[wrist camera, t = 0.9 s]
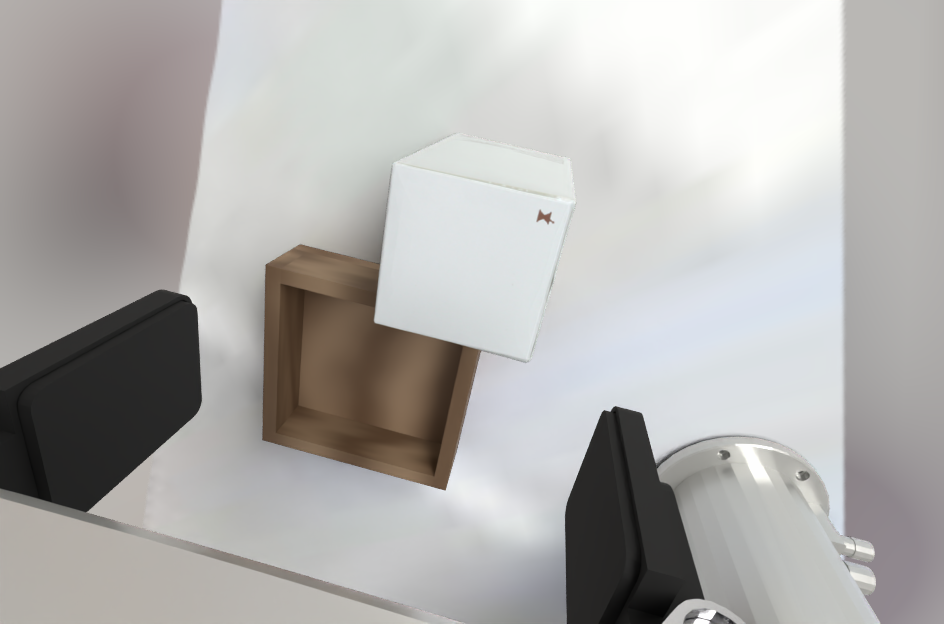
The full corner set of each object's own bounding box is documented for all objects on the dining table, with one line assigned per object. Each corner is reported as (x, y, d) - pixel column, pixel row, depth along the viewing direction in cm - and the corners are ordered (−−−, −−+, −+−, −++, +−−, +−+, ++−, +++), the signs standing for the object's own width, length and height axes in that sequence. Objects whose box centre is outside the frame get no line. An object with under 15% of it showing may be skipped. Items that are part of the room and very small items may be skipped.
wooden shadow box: (494, 292, 34) (485, 320, 30) (457, 449, 40) (445, 490, 36) (300, 244, 34) (265, 264, 30) (292, 405, 40) (262, 439, 36)
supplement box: (454, 129, 30) (389, 152, 18) (574, 157, 29) (584, 199, 18) (433, 244, 33) (367, 325, 22) (541, 271, 33) (532, 368, 21)
